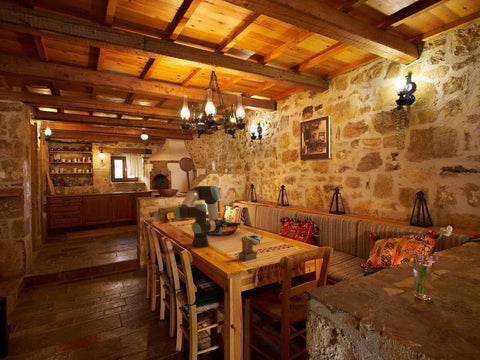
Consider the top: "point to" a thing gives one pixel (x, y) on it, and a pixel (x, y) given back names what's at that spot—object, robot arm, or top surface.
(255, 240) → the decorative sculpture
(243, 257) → the endcap
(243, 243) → the brown wooden block
